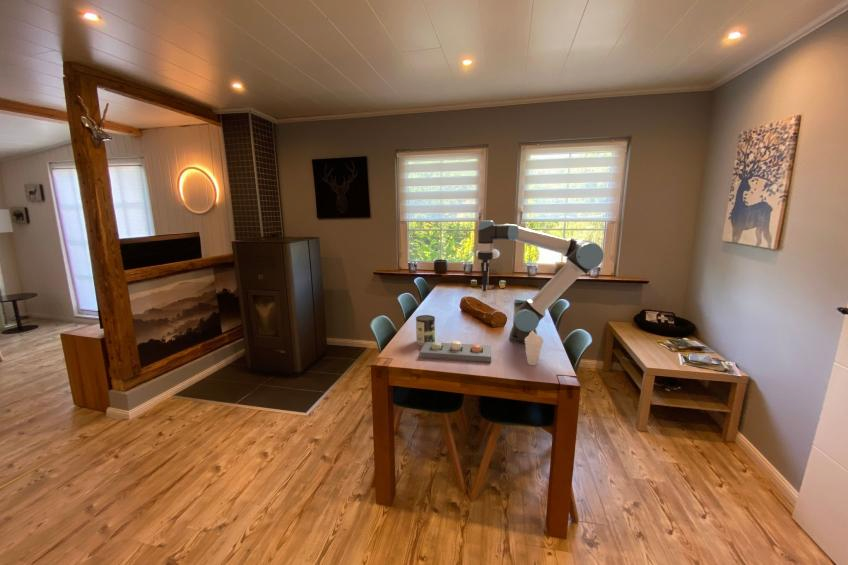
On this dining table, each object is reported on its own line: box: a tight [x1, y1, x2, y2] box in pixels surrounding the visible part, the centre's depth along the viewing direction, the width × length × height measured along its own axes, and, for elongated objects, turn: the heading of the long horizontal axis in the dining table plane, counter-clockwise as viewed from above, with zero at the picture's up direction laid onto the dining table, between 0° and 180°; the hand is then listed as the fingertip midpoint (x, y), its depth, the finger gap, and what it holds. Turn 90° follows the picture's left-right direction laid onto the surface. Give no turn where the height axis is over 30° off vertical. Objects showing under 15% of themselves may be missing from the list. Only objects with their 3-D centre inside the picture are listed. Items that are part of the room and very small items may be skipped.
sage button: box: [431, 341, 442, 350], centre depth 173 cm, size 5×5×4 cm
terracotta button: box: [471, 343, 482, 353], centre depth 169 cm, size 5×5×4 cm
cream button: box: [450, 340, 462, 351], centre depth 171 cm, size 5×5×4 cm
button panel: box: [419, 342, 492, 363], centre depth 171 cm, size 34×14×3 cm, turn 80°
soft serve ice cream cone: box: [524, 331, 544, 366], centre depth 159 cm, size 8×8×16 cm
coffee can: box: [415, 314, 436, 346], centre depth 187 cm, size 10×10×14 cm
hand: (484, 296), depth 179 cm, fingers closed
